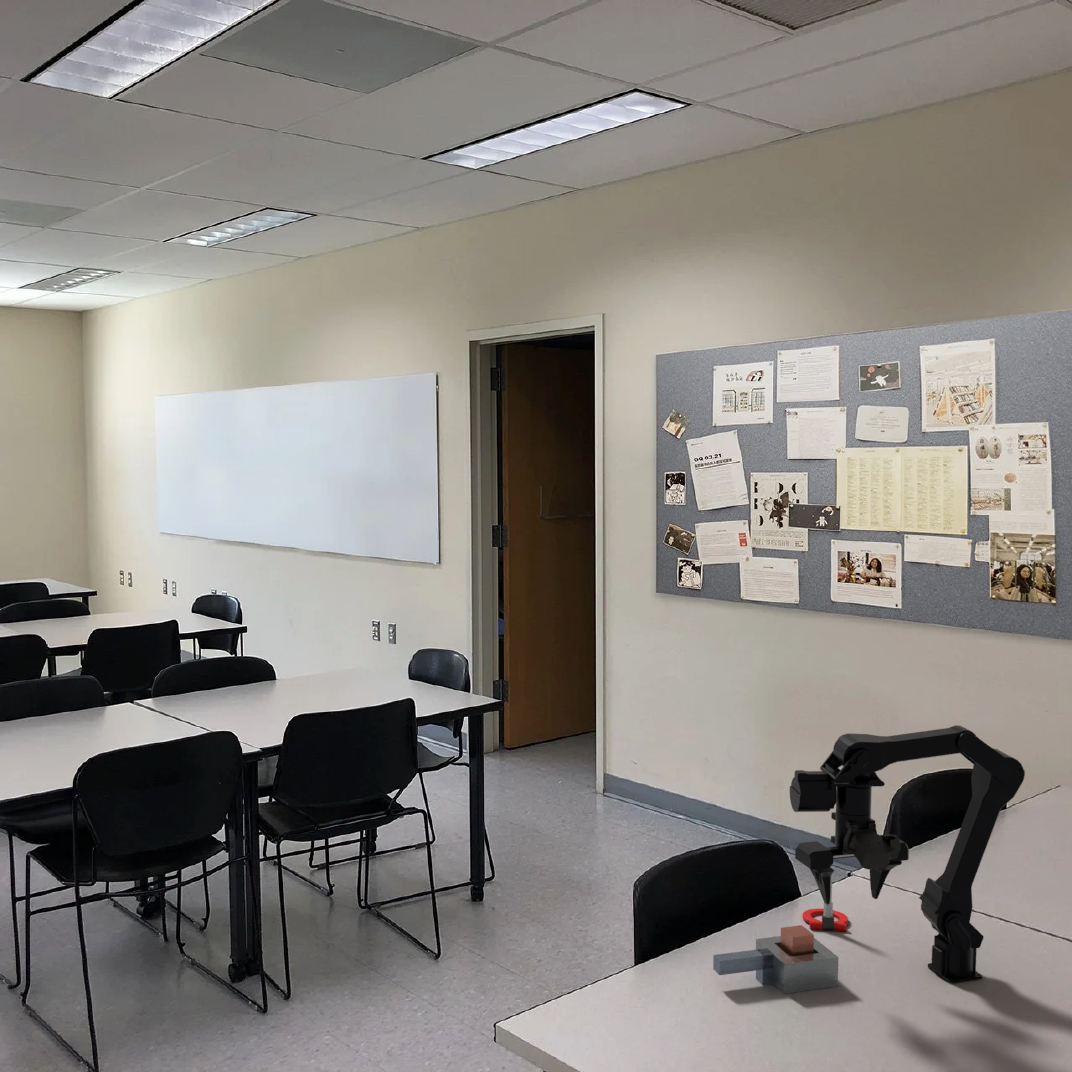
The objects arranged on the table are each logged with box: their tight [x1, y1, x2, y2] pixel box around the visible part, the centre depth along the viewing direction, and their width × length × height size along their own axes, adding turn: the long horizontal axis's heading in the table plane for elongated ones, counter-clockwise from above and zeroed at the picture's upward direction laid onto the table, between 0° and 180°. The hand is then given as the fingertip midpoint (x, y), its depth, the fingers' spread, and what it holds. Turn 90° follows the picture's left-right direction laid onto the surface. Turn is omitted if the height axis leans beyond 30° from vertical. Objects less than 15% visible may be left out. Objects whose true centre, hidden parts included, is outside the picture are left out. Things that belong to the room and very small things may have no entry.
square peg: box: [780, 924, 815, 957], centre depth 187 cm, size 4×4×8 cm
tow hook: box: [802, 874, 849, 932], centre depth 210 cm, size 8×13×9 cm
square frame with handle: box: [712, 935, 839, 994], centre depth 186 cm, size 20×10×5 cm, turn 106°
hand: (850, 900), depth 187 cm, fingers open, 9 cm apart
